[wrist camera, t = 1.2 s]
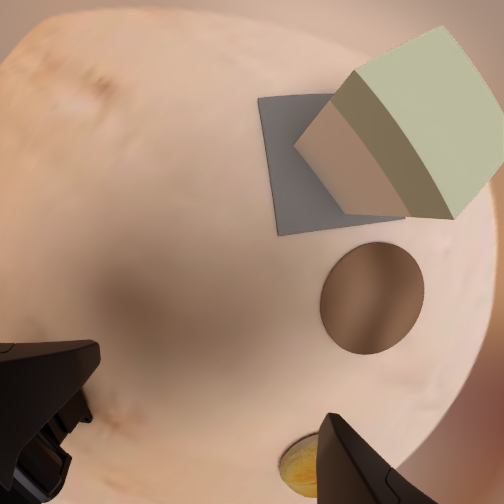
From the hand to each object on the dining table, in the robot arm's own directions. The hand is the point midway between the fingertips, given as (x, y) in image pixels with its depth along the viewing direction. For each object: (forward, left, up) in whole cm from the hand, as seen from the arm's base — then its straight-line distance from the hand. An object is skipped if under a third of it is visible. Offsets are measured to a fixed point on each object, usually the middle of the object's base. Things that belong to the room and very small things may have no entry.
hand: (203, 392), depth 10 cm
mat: (+10, +9, -12) cm, 18 cm away
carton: (+11, +9, -11) cm, 18 cm away
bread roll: (+7, -19, -12) cm, 24 cm away
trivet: (+12, -2, -12) cm, 16 cm away
